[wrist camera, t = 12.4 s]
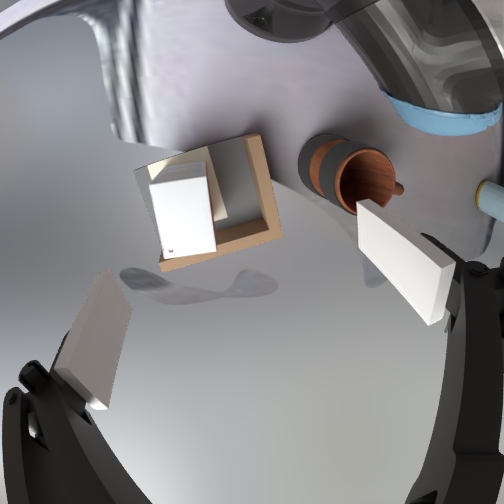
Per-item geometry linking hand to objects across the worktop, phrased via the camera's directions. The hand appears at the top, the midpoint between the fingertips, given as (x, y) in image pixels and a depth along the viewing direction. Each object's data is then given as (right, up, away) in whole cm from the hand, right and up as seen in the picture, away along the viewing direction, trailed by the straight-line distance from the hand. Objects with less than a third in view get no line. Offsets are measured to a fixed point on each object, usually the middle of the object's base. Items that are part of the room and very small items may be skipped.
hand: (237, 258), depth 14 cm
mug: (+12, +13, +24) cm, 30 cm away
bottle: (+52, +13, +31) cm, 61 cm away
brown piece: (-5, +8, +23) cm, 24 cm away
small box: (-7, +8, +21) cm, 24 cm away
